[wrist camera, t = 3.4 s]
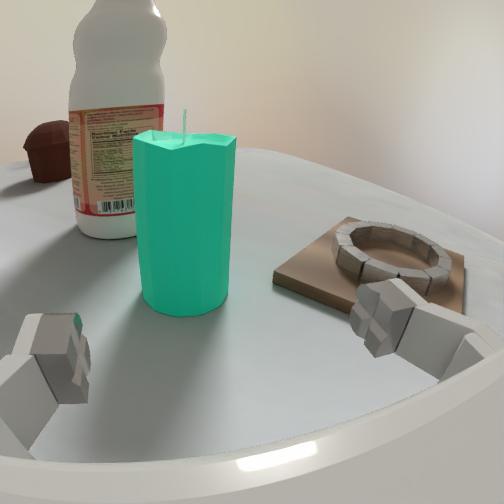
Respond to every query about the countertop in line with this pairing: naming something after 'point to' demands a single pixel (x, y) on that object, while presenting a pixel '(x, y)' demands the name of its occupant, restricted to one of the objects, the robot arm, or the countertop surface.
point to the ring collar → (378, 271)
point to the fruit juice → (113, 109)
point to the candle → (183, 218)
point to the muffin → (49, 152)
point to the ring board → (345, 286)
